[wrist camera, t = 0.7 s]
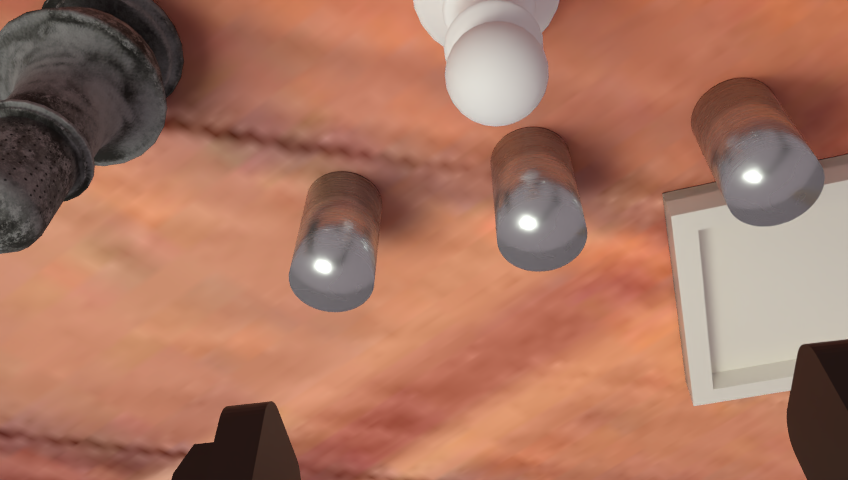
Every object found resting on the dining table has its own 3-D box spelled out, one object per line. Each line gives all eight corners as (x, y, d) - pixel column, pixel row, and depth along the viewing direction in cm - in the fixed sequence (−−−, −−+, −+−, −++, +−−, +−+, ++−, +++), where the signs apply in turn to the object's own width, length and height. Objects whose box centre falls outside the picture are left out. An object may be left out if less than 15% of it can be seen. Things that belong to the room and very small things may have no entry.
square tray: (975, 127, 31) (997, 149, 30) (942, 338, 38) (959, 363, 37) (662, 193, 34) (670, 216, 32) (685, 381, 41) (693, 406, 39)
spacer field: (765, -486, 21) (842, -506, 17) (777, 140, 32) (823, 215, 28) (97, -248, 24) (29, -219, 20) (321, 239, 35) (307, 318, 32)
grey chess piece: (107, -64, 27) (-68, 110, 18) (224, 69, 30) (126, 277, 21) (-5, 24, 30) (-214, 222, 20) (115, 141, 33) (-19, 360, 23)
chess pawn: (489, -137, 26) (507, -38, 19) (587, -27, 28) (636, 98, 21) (382, -27, 28) (363, 97, 21) (480, 66, 30) (492, 208, 23)
